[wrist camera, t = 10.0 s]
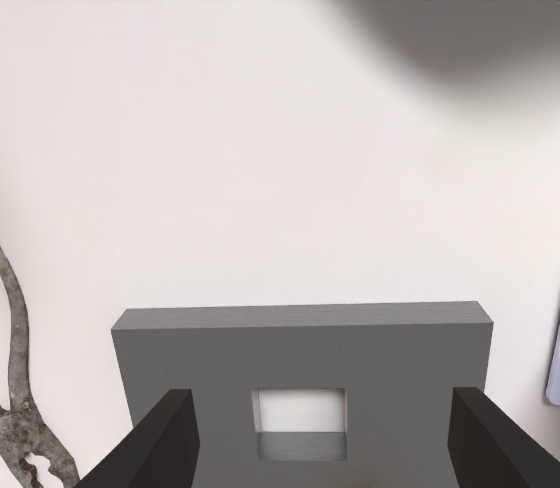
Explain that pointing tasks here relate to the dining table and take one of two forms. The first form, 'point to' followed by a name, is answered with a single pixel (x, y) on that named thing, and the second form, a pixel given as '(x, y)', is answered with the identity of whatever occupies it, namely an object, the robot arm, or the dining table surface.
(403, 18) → the dining table surface
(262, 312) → the grey board with hole
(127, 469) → the robot arm
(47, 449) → the pliers
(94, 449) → the dining table surface
